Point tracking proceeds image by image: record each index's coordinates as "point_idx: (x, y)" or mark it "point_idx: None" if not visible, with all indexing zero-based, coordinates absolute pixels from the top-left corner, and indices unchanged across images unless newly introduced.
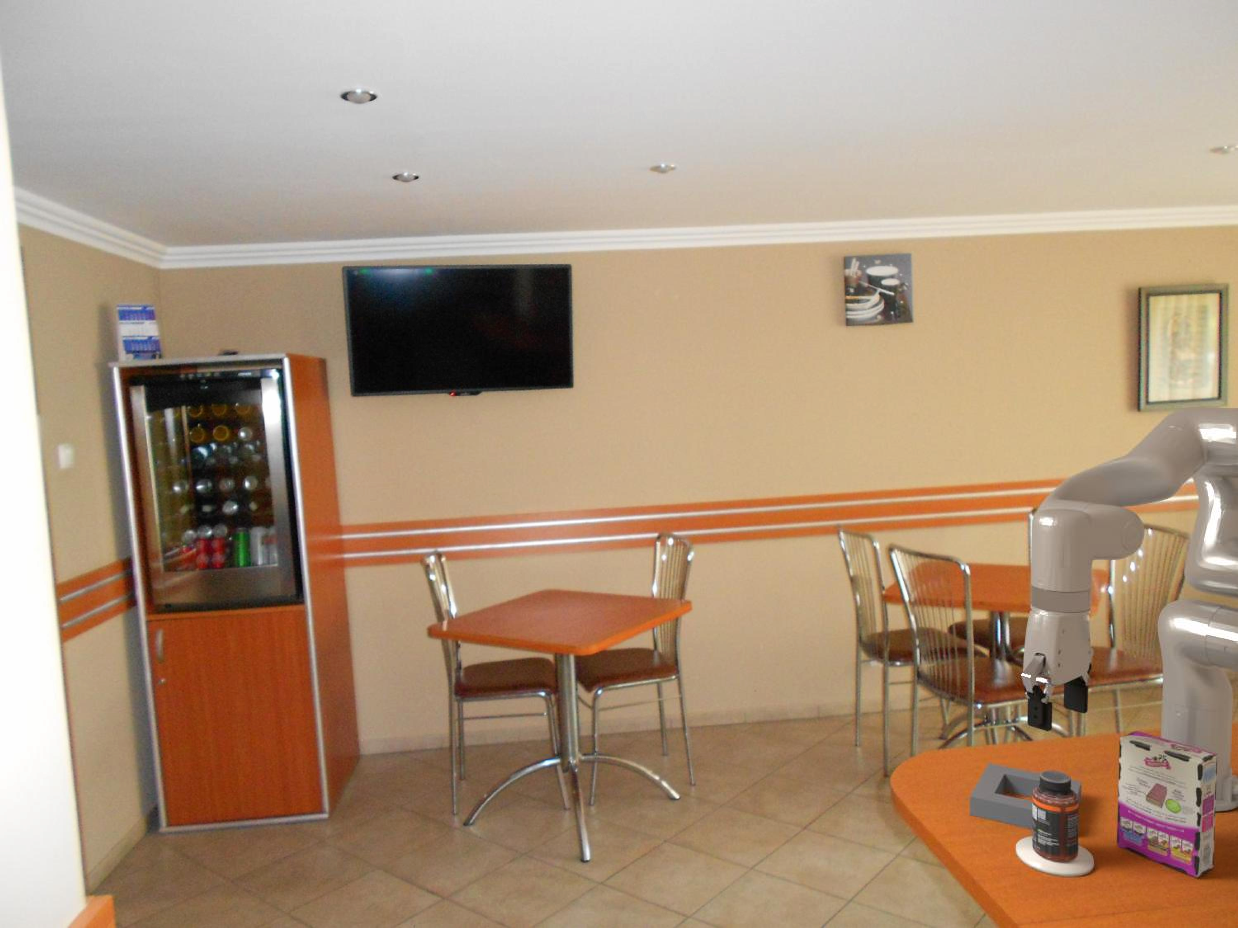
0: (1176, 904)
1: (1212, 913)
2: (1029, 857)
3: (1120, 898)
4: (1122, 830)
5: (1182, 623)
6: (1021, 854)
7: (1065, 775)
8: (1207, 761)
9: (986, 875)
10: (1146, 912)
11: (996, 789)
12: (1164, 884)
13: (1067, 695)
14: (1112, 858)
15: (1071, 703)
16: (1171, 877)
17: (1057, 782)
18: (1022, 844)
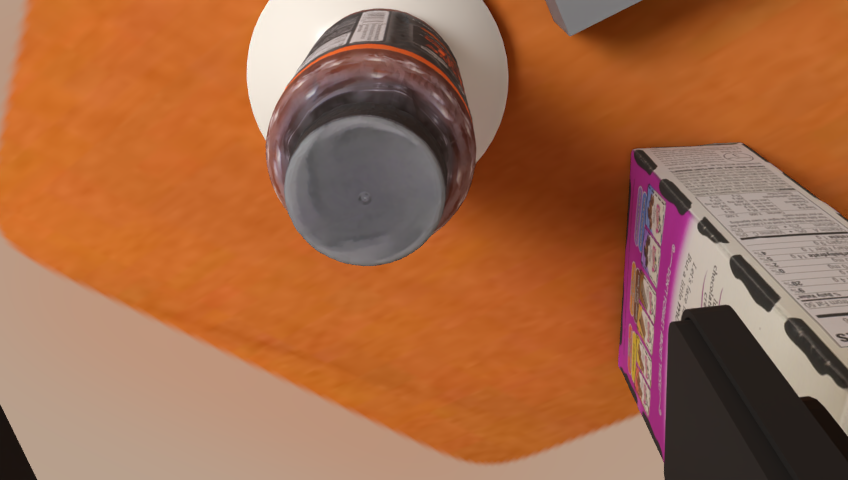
0: (445, 394)
1: (480, 448)
2: (273, 56)
3: (344, 316)
4: (647, 190)
5: None
6: (266, 24)
7: (419, 220)
8: None
9: (62, 31)
10: (343, 379)
11: None
12: (517, 335)
13: (724, 450)
14: (538, 186)
15: (687, 430)
16: (570, 326)
17: (310, 243)
18: None
